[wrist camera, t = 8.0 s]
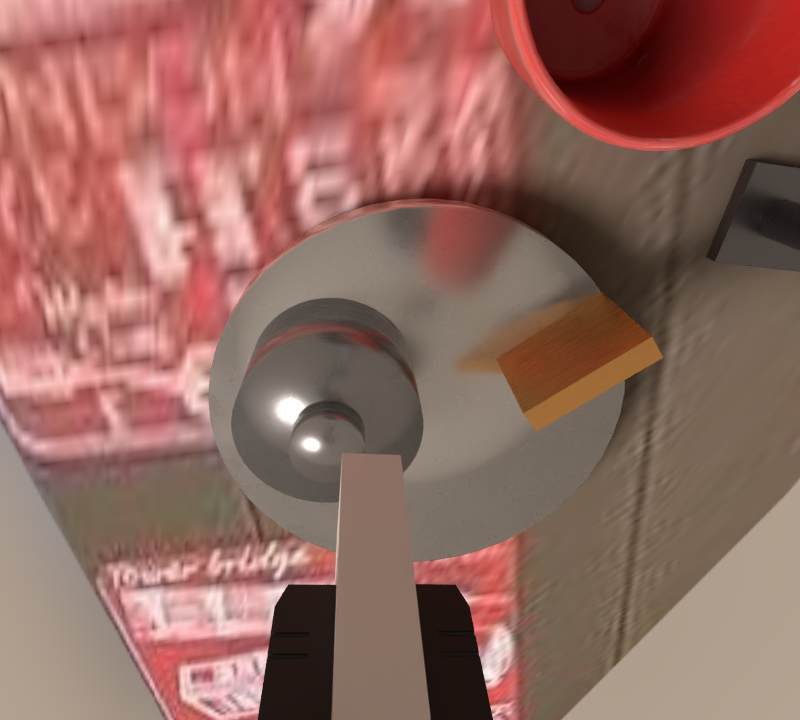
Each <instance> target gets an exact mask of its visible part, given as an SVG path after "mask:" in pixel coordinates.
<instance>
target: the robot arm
mask: <svg viewBox="0 0 800 720" xmlns="http://www.w3.org/2000/svg"><path fill="white" fill-rule="evenodd" d="M478 652H479V651H478V646H477V641H476V636H475V635H474V627H473V622H472V617H471V612H470V607H469V605H468V603H467V602H466V600H465V599H464V597H463V596H462V594H461V593H460V591H459V590H458V588H457V586H456V585H435V584H415V576H414V567H413V559H412V550H411V541H410V532H409V523H408V515H407V506H406V497H405V488H404V479H403V470H402V462H401V455H386V454H358V453H342V463H341V479H340V494H339V510H338V526H337V547H336V571H335V585H288V586H287V588H286V589H285V591H284V593H283V594H282V596H281V597H280V599H279V601H278V602H277V604H276V606H275V609H274V616H273V622H272V629H271V637H270V642H269V649H268V657H267V662H266V669H265V675H264V682H263V689H262V695H261V702H260V708H259V715H258V720H493V718H492V713H491V708H490V703H489V699H488V694H487V689H486V684H485V679H484V675H483V670H482V665H481V660H480V657H479V653H478Z"/></svg>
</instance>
